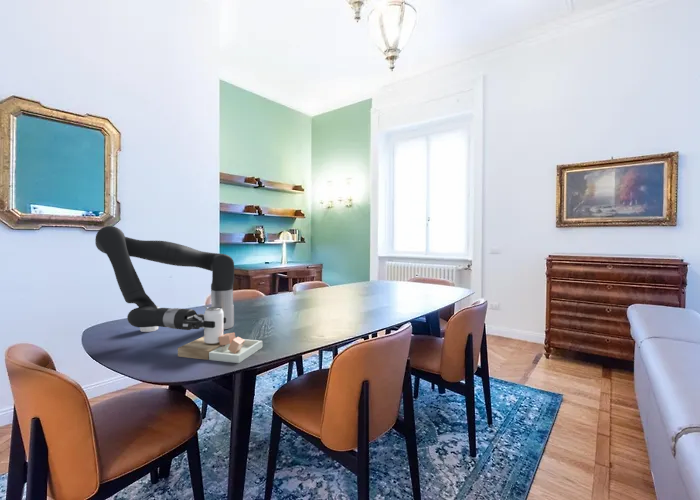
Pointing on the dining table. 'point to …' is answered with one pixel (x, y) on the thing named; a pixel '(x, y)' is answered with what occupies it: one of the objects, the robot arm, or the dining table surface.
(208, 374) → the dining table surface
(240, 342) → the tile
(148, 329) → the white cup
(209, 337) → the can
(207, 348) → the board
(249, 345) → the tray
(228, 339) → the tile
